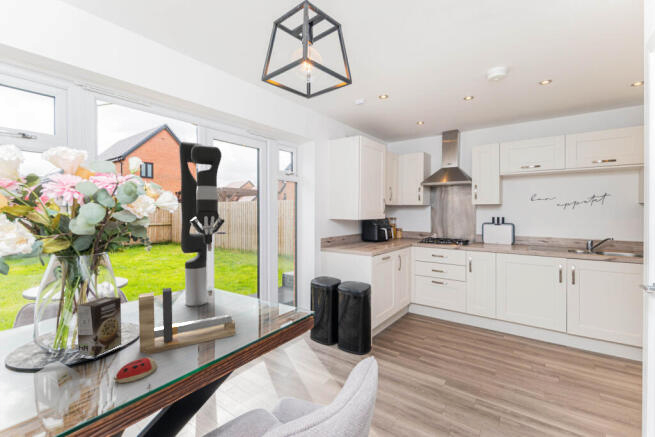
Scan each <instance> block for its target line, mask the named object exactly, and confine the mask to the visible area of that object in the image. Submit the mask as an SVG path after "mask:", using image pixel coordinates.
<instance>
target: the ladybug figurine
mask: <svg viewBox="0 0 655 437" xmlns="http://www.w3.org/2000/svg"><path fill="white" fill-rule="evenodd" d="M157 368H158V363H157V362H156V361H155V359H153V358H151V357H142V358H139V359H135V360H133V361H130V362H128V363H126V364H125V365H123V366H122V367H121V368H120V369H119V370H118V372H117V373H116V376H115V377H114V381H115V382H116V383H119V384H124V383H125V384H126V383H131V382H135V381H137V380H138V381H139V380H140V379H143V378H145V377H147V376H149V375H151V374H152V373H154V372H155V371H156V370H157Z"/></svg>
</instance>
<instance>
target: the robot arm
mask: <svg viewBox="0 0 655 437" xmlns="http://www.w3.org/2000/svg"><path fill="white" fill-rule="evenodd" d="M178 148H179V149H178V151H179V152H178V156H179V165H180V166H179V167H180V207H181V208H180V209H181V232H180V247H181V251H182V253H184V254H193V253H197V254H196V255H195V256H194V257H192V258H190V259H188V260H186V261H185V263H184V272H185V273H184V275H185V276H184V277H185V278H184V279H185V284H184V285H185V289H184V291H185V305H186V306H189V307H196V306H198V307H199V306H203V305H205V304H207V303H208V289H207V288H208V279H207V275H208V273H207V260H208V256H207V255H208V245H211V244H212V243H213V234H215V233H217V232H218V231H219V230H220V228H221V227H222V226H223V224H224V223H225V219H223V218H221V217H220V214H219V212H218V211H219V202H218V201H219V199H218V198H219V195H218V187H217V186H218V181H217V180H218V170H219V167H220V163H221V160H222V151H221V149H220V148H219V147H218V146H213V145H204V144H202V143H199V142H192V141H191V142H189V141H181V142H180V143H179V147H178ZM188 163H192V164H198V165H206V166H207V165H208V166H210V168H209V169H203V170H199V171H198V172H197V173H196V178H195V177H194V176H193V174H192V172H191V170H190V168H189V167H190V166H189V164H188ZM198 223H199V224H200V225H201V226H200V225H199V224H198ZM191 227H193V228H194V229H195V230H196V231H197V232H191Z"/></svg>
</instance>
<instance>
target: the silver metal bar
mask: <svg viewBox="0 0 655 437" xmlns="http://www.w3.org/2000/svg"><path fill="white" fill-rule="evenodd" d="M232 318H233V315H231V313H230V314H229V313H228V314H224V315H219V316H218V315H217V316H212V317H208V318H202V319H196V320H191V321H190V320H189V321H186V322H181V323H172V329H173V335H175V334H178V333H183V332H188V331H193V330H198V329H203V328H208V327H213V326H218V325H222V324H227V323H232V320H233V319H232ZM154 330H155V338H158V337H163V336H164V326H163V325H162V326H160V327H159V326H158V327H154Z"/></svg>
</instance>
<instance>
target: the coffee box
mask: <svg viewBox="0 0 655 437" xmlns="http://www.w3.org/2000/svg"><path fill="white" fill-rule="evenodd" d="M121 299H122V298H121V297H115V296H113V297H111V296H110V297H109V296H104V297H101V298H97V299H93V300H91V301H87V302H84V303H81V304H77V354H78V353H80V354H83V355H87V356H92V357H96V356H97V355H99V354H102V353H104V352H106V351H108V350H111V349H113V348H115V347H117V346H119V345H122V303H121V301H122V300H121Z"/></svg>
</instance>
